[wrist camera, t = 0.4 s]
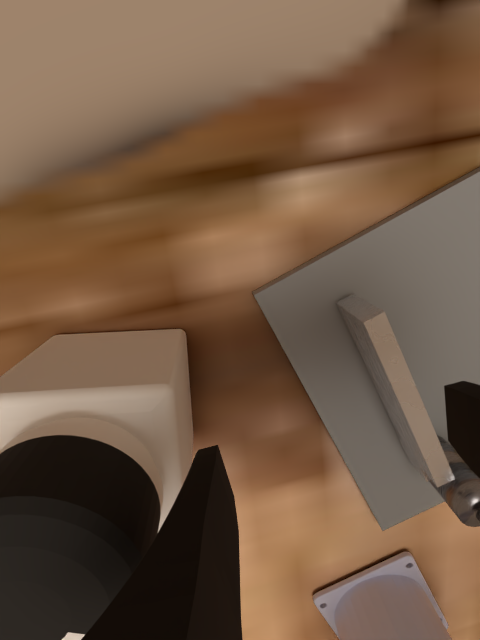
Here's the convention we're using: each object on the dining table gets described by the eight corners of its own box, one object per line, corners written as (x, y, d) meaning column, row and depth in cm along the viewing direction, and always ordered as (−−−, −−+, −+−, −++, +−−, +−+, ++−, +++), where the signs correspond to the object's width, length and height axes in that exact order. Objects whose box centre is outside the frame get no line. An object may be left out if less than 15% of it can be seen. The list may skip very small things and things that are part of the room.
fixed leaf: (452, 456, 23) (523, 528, 17) (415, 474, 23) (474, 551, 18) (377, 277, 19) (442, 303, 13) (333, 300, 19) (380, 335, 14)
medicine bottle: (52, 333, 19) (-192, 516, 7) (186, 326, 19) (151, 489, 8) (73, 446, 21) (-91, 725, 10) (194, 437, 21) (176, 693, 10)
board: (635, 397, 23) (650, 403, 23) (377, 521, 25) (382, 531, 24) (584, 109, 18) (601, 104, 17) (252, 291, 19) (253, 295, 18)
